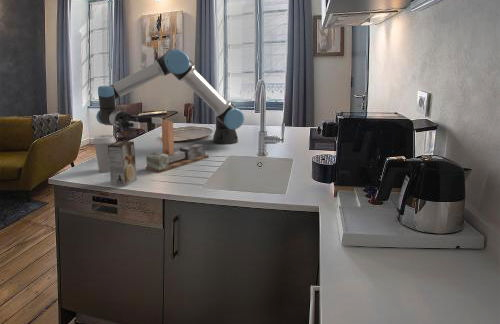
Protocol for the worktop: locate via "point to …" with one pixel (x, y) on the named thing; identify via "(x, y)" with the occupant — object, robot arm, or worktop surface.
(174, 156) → the orange and grey l-shape
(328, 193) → the worktop surface
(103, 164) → the coffee cup
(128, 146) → the coffee box
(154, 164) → the stand
